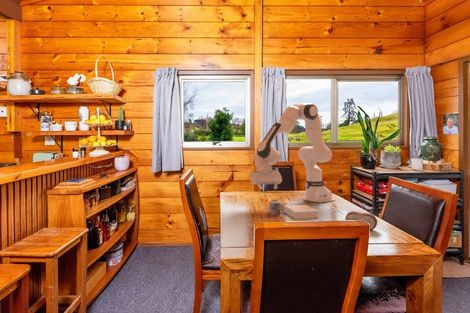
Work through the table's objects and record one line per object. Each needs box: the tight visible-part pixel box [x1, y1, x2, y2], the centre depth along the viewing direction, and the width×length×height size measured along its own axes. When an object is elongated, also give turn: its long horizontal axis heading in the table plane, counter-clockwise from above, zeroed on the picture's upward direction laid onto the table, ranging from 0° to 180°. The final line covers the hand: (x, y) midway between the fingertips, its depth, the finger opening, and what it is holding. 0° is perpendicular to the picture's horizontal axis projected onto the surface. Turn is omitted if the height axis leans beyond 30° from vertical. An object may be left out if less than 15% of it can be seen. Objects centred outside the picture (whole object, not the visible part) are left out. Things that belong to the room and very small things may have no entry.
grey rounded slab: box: [345, 211, 378, 231], centre depth 158 cm, size 15×3×8 cm, turn 59°
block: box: [269, 200, 281, 216], centre depth 188 cm, size 5×5×7 cm
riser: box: [283, 204, 319, 220], centre depth 185 cm, size 14×16×4 cm
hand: (268, 188), depth 198 cm, fingers open, 8 cm apart
